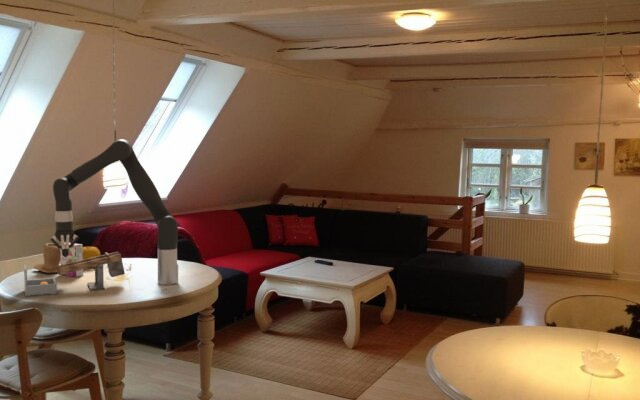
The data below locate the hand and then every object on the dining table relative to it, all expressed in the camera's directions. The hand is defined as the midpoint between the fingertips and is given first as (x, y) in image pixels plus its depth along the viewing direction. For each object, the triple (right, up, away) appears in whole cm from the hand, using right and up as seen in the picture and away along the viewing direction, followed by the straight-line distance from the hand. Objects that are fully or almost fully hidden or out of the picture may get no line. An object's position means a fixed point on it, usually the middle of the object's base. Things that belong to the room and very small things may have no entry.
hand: (65, 256), depth 276 cm
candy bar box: (-7, -12, +24) cm, 28 cm away
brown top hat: (-22, -11, +32) cm, 40 cm away
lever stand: (+14, -14, 0) cm, 20 cm away
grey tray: (-6, -15, -11) cm, 20 cm away
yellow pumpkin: (-7, -10, +44) cm, 46 cm away
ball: (-5, -12, -11) cm, 17 cm away
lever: (+12, -11, +2) cm, 16 cm away
